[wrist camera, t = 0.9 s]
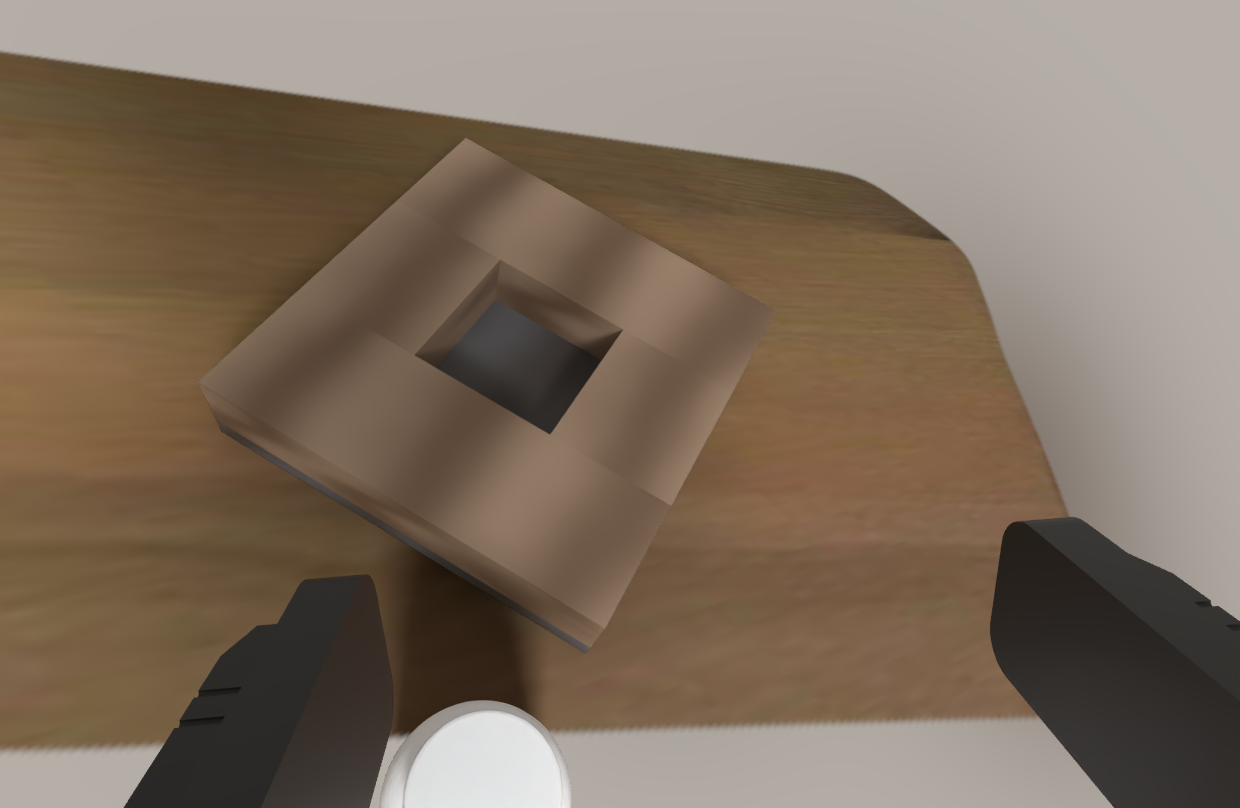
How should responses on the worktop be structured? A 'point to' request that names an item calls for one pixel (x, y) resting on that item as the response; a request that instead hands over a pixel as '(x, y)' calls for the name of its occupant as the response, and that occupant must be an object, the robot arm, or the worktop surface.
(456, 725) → the supplement bottle
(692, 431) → the socket block
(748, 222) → the worktop surface
